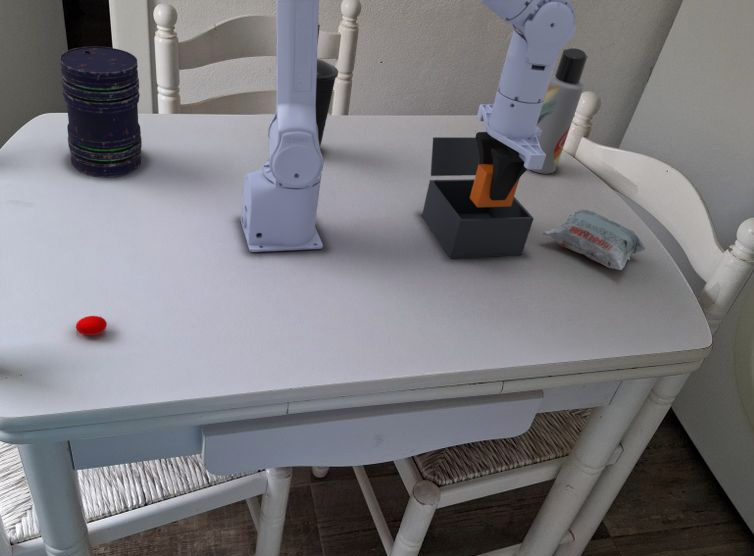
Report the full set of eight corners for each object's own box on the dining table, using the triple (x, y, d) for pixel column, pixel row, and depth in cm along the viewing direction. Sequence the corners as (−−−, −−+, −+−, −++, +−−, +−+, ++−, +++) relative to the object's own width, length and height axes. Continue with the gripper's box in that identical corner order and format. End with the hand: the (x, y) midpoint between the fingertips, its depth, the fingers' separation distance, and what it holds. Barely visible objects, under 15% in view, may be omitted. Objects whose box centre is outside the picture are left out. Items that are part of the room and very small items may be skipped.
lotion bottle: (559, 167, 122) (598, 52, 111) (548, 178, 118) (588, 60, 107) (529, 155, 124) (564, 42, 113) (517, 166, 120) (553, 49, 109)
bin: (421, 216, 102) (429, 179, 98) (488, 213, 105) (498, 178, 102) (450, 258, 94) (460, 220, 90) (521, 254, 97) (533, 218, 94)
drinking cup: (326, 165, 111) (343, 36, 99) (278, 158, 110) (288, 29, 99) (328, 144, 117) (344, 21, 105) (282, 138, 116) (293, 13, 105)
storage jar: (156, 166, 103) (153, 65, 94) (95, 184, 96) (86, 78, 88) (116, 140, 108) (110, 42, 99) (56, 156, 101) (44, 52, 92)
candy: (107, 326, 74) (106, 312, 73) (106, 339, 72) (105, 324, 71) (77, 327, 73) (75, 313, 72) (75, 340, 72) (73, 326, 70)
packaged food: (616, 283, 94) (629, 253, 92) (538, 244, 100) (549, 214, 97) (640, 261, 100) (653, 232, 97) (565, 225, 106) (576, 196, 103)
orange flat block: (477, 207, 92) (486, 173, 89) (469, 197, 94) (478, 164, 91) (511, 206, 93) (521, 172, 91) (502, 197, 95) (512, 163, 92)
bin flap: (431, 176, 98) (430, 175, 98) (499, 175, 101) (498, 174, 102) (433, 137, 96) (432, 137, 97) (503, 137, 100) (502, 137, 100)
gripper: (580, 119, 81) (545, 221, 89) (522, 72, 92) (496, 166, 99) (526, 119, 78) (495, 223, 86) (473, 70, 89) (450, 167, 97)
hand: (492, 193), depth 93 cm, fingers closed on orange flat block, 2 cm apart
